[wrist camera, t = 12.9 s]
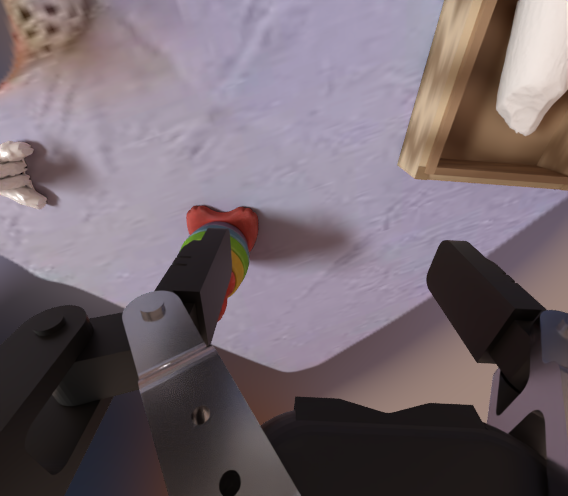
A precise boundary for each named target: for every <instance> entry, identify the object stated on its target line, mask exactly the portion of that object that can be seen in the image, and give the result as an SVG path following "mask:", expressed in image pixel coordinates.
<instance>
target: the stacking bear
mask: <svg viewBox="0 0 568 496" xmlns="http://www.w3.org/2000/svg"><path fill="white" fill-rule="evenodd" d="M186 218H187V227H188V231H189V234H190V236H189V237H188V238H187V240H186V241H185V242H184V243H183V245H182V247H181V249H182V248H183V247H184V246H185V245H187V244H188V243H189V242H191V241H192V240H201V239H202V237H203V235H204V234H205V232H206V230H207V229H208V228H226V229H229V232H230V242H231V256H232V273H231V279H230V282H229V285H228V289H227V292H226V295H225V298H224V302H223V305H222V308H221V312H220V315H219V318H218V321H219V320H220V319H221V318H222V316H223V314H224V312H225V310H226V306H227V298H228V297H230V296H231V295H232V294H233V293H234V292H235V291H236V290H237V289H238V287H239V286H240V284H241V282H242V281H243V279H244V277H245V275H246V273H247V270H248V266H249V252H250V251H251V250H252V248H253V246H254V244H255V242H256V239H257V235H258V217H257V215H256V213H255V212H253V211H252V210H251V209H250V208H244V207H238V208H236V209H234V210H232V211H230V212H216V211H213V210H211V209H209V208H207V207H205V206H193V207H192V208H191V210H189V211H188V213H187V217H186ZM180 251H181V250H180ZM218 321H217V322H218Z"/></svg>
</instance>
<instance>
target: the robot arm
mask: <svg viewBox="0 0 568 496" xmlns="http://www.w3.org/2000/svg"><path fill="white" fill-rule="evenodd" d="M231 273H232V256H231V242H230V232H229V229H226V228H208V229H207V230H206V232H205V234H204V235H203V237H202V239H201V240H192V241H191V242H189V243H188V244H187V245H185V246H184V247H183V248H182V249H181V251H180V252H179V254H178V255H177V258H175V260H174V261H173V263H172V265H171V266H170V268H169V269H168V271H167V272H166V274H165V275H164V277H163V278H162V280H161V282H160V283H159V285H158V286H157V288H156V289H155V291H154V292H149V293H146V294H143V295H141V296H139V297H137V298H136V299H134V300H133V301H131V302H130V303H129V304H128V305H127V306H126V308H125V309H124V311H123V312H122V313H117V314H112V315H107V316H101V317H96V318H90V319H89V318H88V316H87V314H86V312H85V311H84V309H82V308H81V307H78V306H72V305H65V306H59V307H55V308H51V309H48V310H45V311H43V312H41V313H39V314H37V315H35V316H33V317H31V318H30V319H29V320H27V321H26V322H24V323H23V324H22V325H21V326H20V327H19V328H18V329H17V330H16V331H15V332H14V333H13V334H12V335H11V336H10V337H9V338H7V340H5V341H4V342H3V344H1V345H0V496H64V495H65V493H66V491H67V489H68V487H69V485H70V483H71V481H72V479H73V477H74V475H75V473H76V471H77V469H78V467H79V465H80V463H81V461H82V459H83V457H84V455H85V453H86V451H87V449H88V447H89V445H90V443H91V441H92V439H93V437H94V435H95V433H96V430H97V429H98V427H99V425H100V423H101V421H102V419H103V417H104V415H105V412H106V411H107V409H108V406H109V405H110V403H111V401H112V399H113V397H114V396H116V395H120V394H123V393H127V392H131V391H134V390H139V389H140V393H141V396H142V401H143V404H144V408H145V411H146V415H147V419H148V422H149V426H150V429H151V433H152V437H153V441H154V444H155V448H156V451H157V455H158V459H159V462H160V466H161V469H162V473H163V476H164V481H165V484H166V488H167V491H168V495H169V496H568V313H565V312H561V311H556V310H546V309H545V308H544V307H543V306H542V305H541V304H540V303H539V302H537V301H536V300H535V299H534V298H533V297H532V296H531V295H530V294H529V293H528V292H526V291H525V290H524V289H523V288H522V287H521V286H520V285H519V284H518V283H515V281H514V280H513V279H512V278H511V277H510V276H509V275H506V273H505V272H504V271H503V270H502V269H501V268H500V267H498V265H496V264H495V263H494V262H492V261H490V260H488V259H487V258H485V257H484V256H483V255H482V254H481V253H480V252H479V251H478V250H477V249H475V248H474V247H473V246H472V245H471V244H470V243H469V242H467V241H453V240H444V241H442V242H441V243H440V245H439V247H438V249H437V252H436V254H435V256H434V259H433V261H432V264H431V266H430V268H429V271H428V273H427V286H428V289H429V290H430V292H431V293H432V295H433V297H434V298H435V300H436V301H437V303H438V304H439V306H440V307H441V309H442V310H443V312H444V313H445V315H446V316H447V318H448V319H449V321H450V322H451V324H452V325H453V327H454V328H455V330H456V331H457V333H458V334H459V336H460V338H461V339H462V341H463V342H464V344H465V345H466V347H467V348H468V350H469V351H470V353H471V354H472V356H473V357H474V359H475V360H476V362H477V363H492V364H497V366H498V367H499V368H498V369H497V370H496V371H495V373H494V375H493V380H492V388H491V396H490V404H489V412H488V420H487V424H486V423H484V422H482V421H481V419H480V417H479V416H478V414H477V412H476V410H475V408H474V406H473V405H460V404H439V403H428V404H424V405H420V406H416V407H412V408H409V409H404V410H400V411H397V412H393V413H384V412H381V411H377V410H374V409H371V408H368V407H364V406H361V405H358V404H355V403H351V402H348V401H345V400H342V399H334V398H313V397H295V404H294V411H290V412H286V413H283V414H281V415H278V416H276V417H274V418H272V419H270V420H269V421H267V422H265V423H264V424H262V425H261V426H260V425H259V423H258V421H257V420H256V418H255V416H254V414H253V413H252V411H251V409H250V408H249V406H248V404H247V403H246V401H245V399H244V397H243V396H242V394H241V392H240V391H239V389H238V387H237V385H236V384H235V382H234V380H233V378H232V377H231V375H230V374H229V372H228V370H227V368H226V366H225V365H224V363H223V361H222V360H221V358H220V356H219V355H218V353H217V351H216V350H215V348H214V347H213V346H212V345H210V344H211V341H212V338H213V334H214V331H215V328H216V325H217V321H218V318H219V315H220V312H221V308H222V305H223V302H224V298H225V295H226V292H227V289H228V285H229V282H230V279H231Z"/></svg>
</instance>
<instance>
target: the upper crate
mask: <svg viewBox="0 0 568 496" xmlns="http://www.w3.org/2000/svg"><path fill="white" fill-rule="evenodd" d="M517 1H518V0H482V3H481V6H480V9H479V12H478V15H477V18H476V21H475V24H474V27H473V30H472V33H471V36H470V38H469V41H468V44H467V47H466V50H465V53H464V56H463V59H462V62H461V65H460V68H459V71H458V73H457V76H456V79H455V82H454V85H453V88H452V91H451V94H450V97H449V100H448V103H447V106H446V108H445V111H444V114H443V117H442V120H441V123H440V126H439V129H438V132H437V135H436V138H435V141H434V144H433V146H432V149H431V152H430V155H429V158H428V161H427V164H426V170H425V172H424V173H426V174H432V175H445V176H458V177H471V178H485V179H498V180H511V181H524V182H538V183H551V184H564V185H568V90H567V91H566V92H565V93H564V94H563V95H562V96H561V97H560V98H559V99H558V100H557V101H556V102H555V103H554V104H553V105H552V106H551V108H550V109H549V110H548V111H547V113H546V114H545V115H544V117H543V119H542V120H541V122H540V124H539V125H538V127H537V128H536V130H535V131H534V132H533V133H531V134H530V135H528V136H524V135H523V134H520V133H519V132H518V133H516V132H515V130H513V129H511V128H510V127H509V126H508V124H507V123H506V122H505V120H504V118H502V117H501V115H500V114H499V113H498V111H497V110H496V101H497V93H498V88H499V83H500V79H501V74H502V70H503V66H504V62H505V57H506V51H507V47H508V43H509V39H510V35H511V30H512V25H513V19H514V14H515V10H516V4H517Z"/></svg>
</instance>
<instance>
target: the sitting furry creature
mask: <svg viewBox="0 0 568 496" xmlns="http://www.w3.org/2000/svg"><path fill="white" fill-rule="evenodd" d="M33 151H34V149H33V148H31V145H29V144H27V143H25V142H13V141H8V142H5V143H3V144H1V145H0V195H2V196H5V197H8V198H10V199H12V200H14V201H16V202H18V203H19V204H21V205H26V206H30V207H33V208H36V209H42V208H43V207H44V206H45V205H46V200H48V199H47V198H46V197H44V195H41V194H39V193H38V192H36V191H35V189H34V187H33V185H32V182H31V180H29V178H30V176H29V175H26V173H25V171H26V170H28V168H25V167H26V166H27V164H26V163H25V161H24V157H27V156H29V155H31V154H32V153H33ZM19 160H22V161H19ZM22 172H23V174H20V173H22ZM25 185H27V187H26V186H25Z"/></svg>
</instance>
